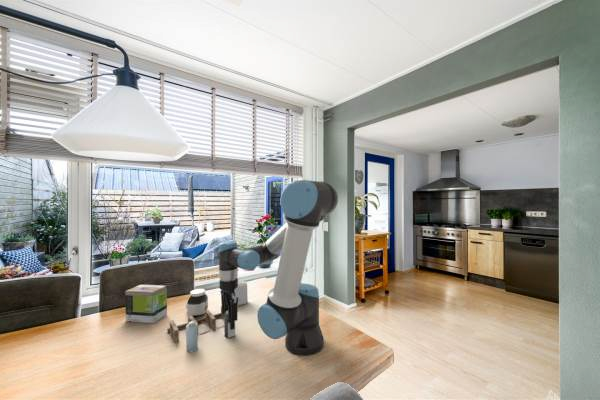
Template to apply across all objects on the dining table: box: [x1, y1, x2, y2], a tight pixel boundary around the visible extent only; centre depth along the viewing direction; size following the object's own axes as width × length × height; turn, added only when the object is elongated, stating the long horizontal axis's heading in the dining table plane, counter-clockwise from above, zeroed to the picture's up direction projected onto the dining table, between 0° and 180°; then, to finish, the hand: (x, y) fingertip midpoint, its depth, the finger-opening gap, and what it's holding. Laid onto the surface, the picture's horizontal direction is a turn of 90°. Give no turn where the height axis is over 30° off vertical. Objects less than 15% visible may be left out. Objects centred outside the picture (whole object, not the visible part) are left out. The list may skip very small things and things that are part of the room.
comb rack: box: [166, 306, 224, 344], centre depth 111 cm, size 11×26×5 cm, turn 128°
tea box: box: [124, 284, 168, 324], centre depth 121 cm, size 15×10×15 cm, turn 80°
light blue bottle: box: [185, 321, 199, 352], centre depth 96 cm, size 4×4×10 cm
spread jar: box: [185, 288, 209, 319], centre depth 125 cm, size 12×11×12 cm
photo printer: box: [234, 280, 249, 307], centre depth 135 cm, size 10×4×12 cm, turn 127°
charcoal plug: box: [223, 310, 229, 338], centre depth 105 cm, size 4×4×10 cm
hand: (229, 333), depth 105 cm, fingers closed on charcoal plug, 3 cm apart
